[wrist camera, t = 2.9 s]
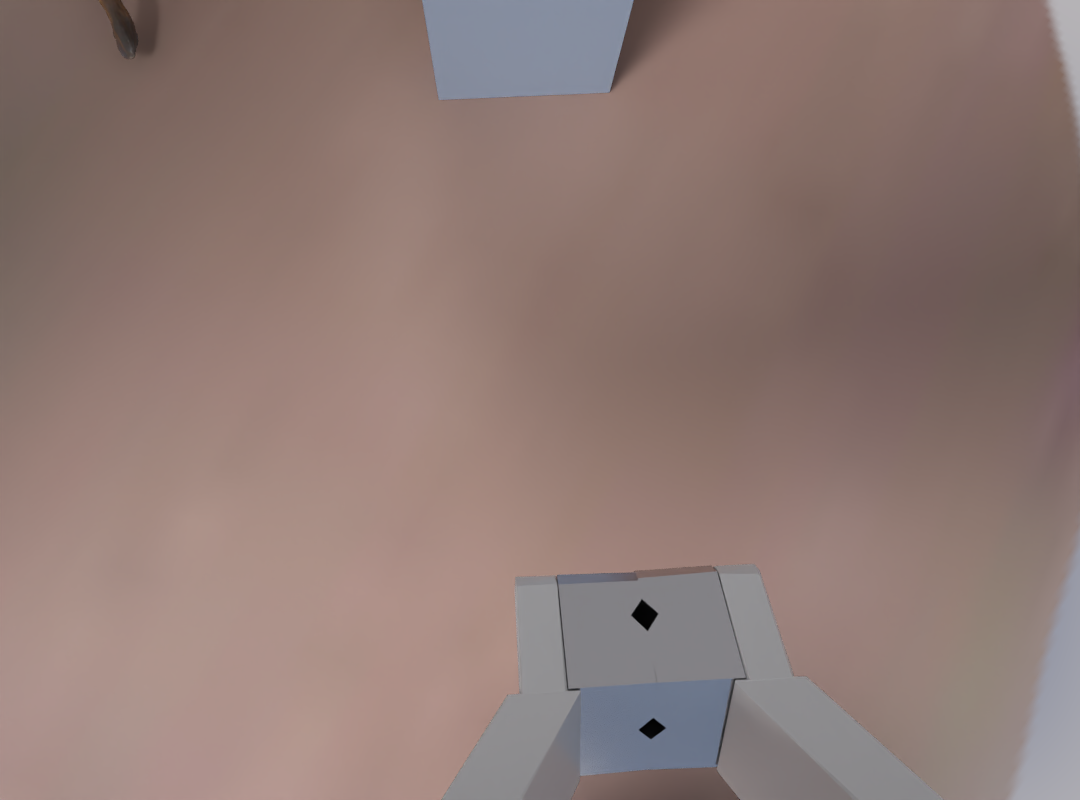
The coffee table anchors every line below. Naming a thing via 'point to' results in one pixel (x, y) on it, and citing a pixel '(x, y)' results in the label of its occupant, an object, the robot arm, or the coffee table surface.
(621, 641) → the robot arm
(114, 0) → the lion figurine
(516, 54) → the domino
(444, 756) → the coffee table surface
